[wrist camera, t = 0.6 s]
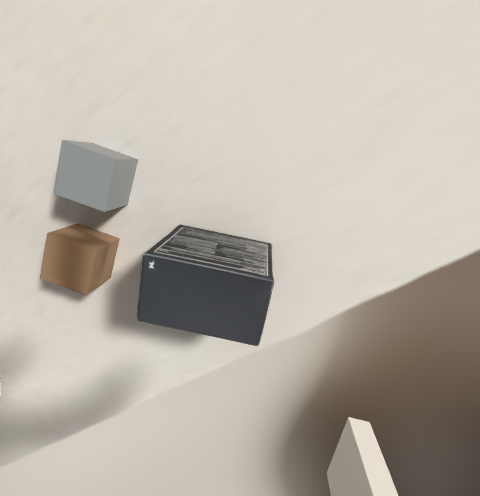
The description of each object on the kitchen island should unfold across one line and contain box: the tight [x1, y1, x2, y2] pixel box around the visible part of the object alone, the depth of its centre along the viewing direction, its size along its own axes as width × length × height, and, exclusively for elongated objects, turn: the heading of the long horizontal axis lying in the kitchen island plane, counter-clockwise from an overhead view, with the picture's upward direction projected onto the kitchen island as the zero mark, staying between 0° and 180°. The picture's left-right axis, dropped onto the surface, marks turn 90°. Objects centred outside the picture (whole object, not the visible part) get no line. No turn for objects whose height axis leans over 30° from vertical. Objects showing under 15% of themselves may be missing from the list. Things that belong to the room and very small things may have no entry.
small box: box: [136, 225, 274, 346], centre depth 29 cm, size 11×6×10 cm, turn 79°
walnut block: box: [40, 223, 120, 295], centre depth 33 cm, size 5×5×5 cm
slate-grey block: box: [54, 140, 138, 212], centre depth 30 cm, size 5×5×5 cm
